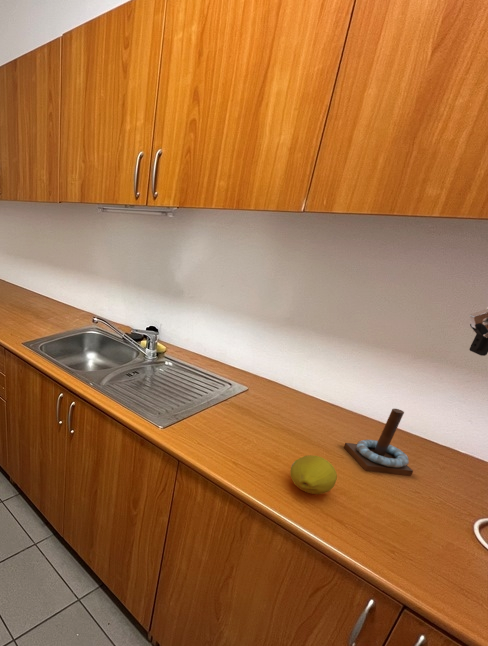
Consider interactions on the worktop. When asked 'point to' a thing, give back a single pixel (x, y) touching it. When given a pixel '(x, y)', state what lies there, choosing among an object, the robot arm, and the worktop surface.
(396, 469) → the peg stand
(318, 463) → the lemon
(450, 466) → the worktop surface
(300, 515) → the worktop surface
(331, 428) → the worktop surface
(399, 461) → the ring
